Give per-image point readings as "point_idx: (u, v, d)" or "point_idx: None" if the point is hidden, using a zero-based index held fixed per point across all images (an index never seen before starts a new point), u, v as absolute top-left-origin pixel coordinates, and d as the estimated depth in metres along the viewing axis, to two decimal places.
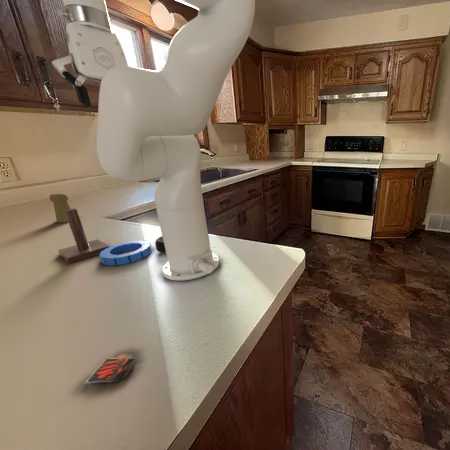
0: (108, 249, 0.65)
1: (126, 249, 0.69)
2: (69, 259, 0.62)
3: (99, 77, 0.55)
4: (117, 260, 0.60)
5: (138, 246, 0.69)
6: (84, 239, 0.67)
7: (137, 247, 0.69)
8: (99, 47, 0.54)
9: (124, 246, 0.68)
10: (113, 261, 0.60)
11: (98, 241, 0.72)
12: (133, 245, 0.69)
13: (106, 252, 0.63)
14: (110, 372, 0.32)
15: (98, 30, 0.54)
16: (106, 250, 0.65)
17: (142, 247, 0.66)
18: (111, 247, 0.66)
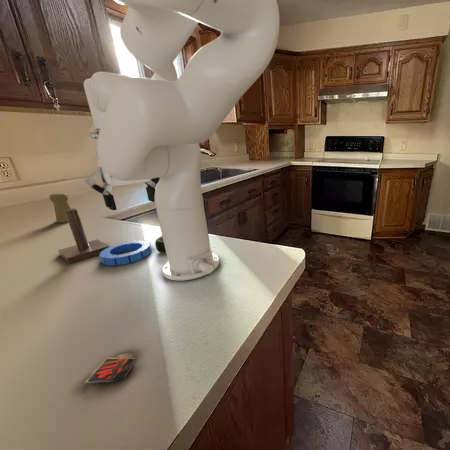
0: (108, 249, 0.65)
1: (126, 249, 0.69)
2: (69, 259, 0.62)
3: (124, 184, 0.61)
4: (117, 260, 0.60)
5: (138, 246, 0.69)
6: (84, 239, 0.67)
7: (137, 247, 0.69)
8: None
9: (124, 246, 0.68)
10: (113, 261, 0.60)
11: (98, 241, 0.72)
12: (133, 245, 0.69)
13: (106, 252, 0.63)
14: (110, 372, 0.32)
15: None
16: (106, 250, 0.65)
17: (142, 247, 0.66)
18: (111, 247, 0.66)
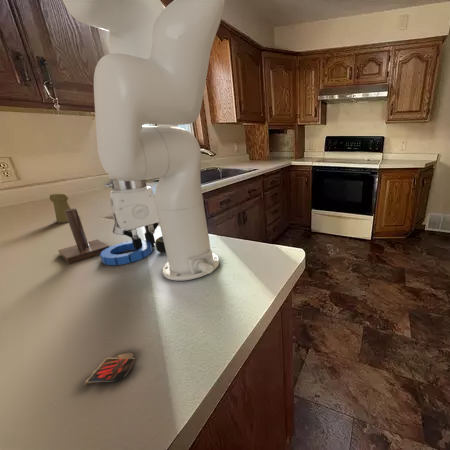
0: (109, 249, 0.65)
1: (127, 249, 0.69)
2: (69, 259, 0.62)
3: (136, 227, 0.64)
4: (118, 260, 0.61)
5: None
6: (84, 239, 0.67)
7: None
8: (137, 204, 0.63)
9: (125, 246, 0.68)
10: (114, 261, 0.60)
11: (98, 241, 0.72)
12: None
13: (107, 252, 0.63)
14: (110, 372, 0.32)
15: (136, 191, 0.63)
16: (107, 250, 0.65)
17: (143, 247, 0.66)
18: (112, 247, 0.66)
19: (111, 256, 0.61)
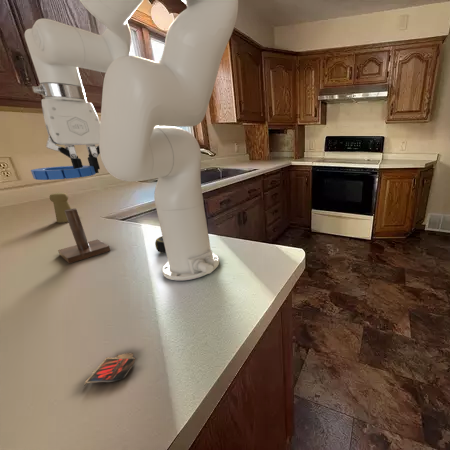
0: (44, 168, 0.60)
1: None
2: (69, 259, 0.62)
3: (73, 144, 0.59)
4: (49, 174, 0.55)
5: None
6: (84, 239, 0.67)
7: None
8: (73, 117, 0.58)
9: (65, 169, 0.63)
10: (44, 174, 0.55)
11: (98, 241, 0.72)
12: None
13: (40, 169, 0.58)
14: (110, 372, 0.32)
15: (72, 102, 0.57)
16: (41, 168, 0.59)
17: (82, 167, 0.61)
18: (49, 167, 0.61)
19: (42, 170, 0.56)
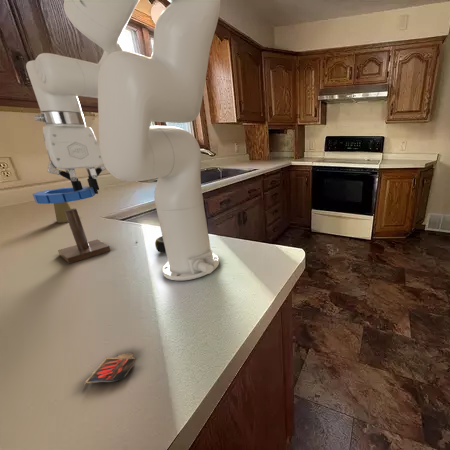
0: (45, 191, 0.62)
1: None
2: (69, 259, 0.62)
3: (73, 167, 0.61)
4: (50, 198, 0.57)
5: None
6: (84, 239, 0.67)
7: None
8: (73, 142, 0.60)
9: (65, 190, 0.65)
10: (46, 199, 0.57)
11: (98, 241, 0.72)
12: None
13: (41, 192, 0.60)
14: (110, 372, 0.32)
15: (72, 128, 0.60)
16: (43, 191, 0.61)
17: (82, 189, 0.63)
18: (49, 190, 0.63)
19: (43, 194, 0.58)
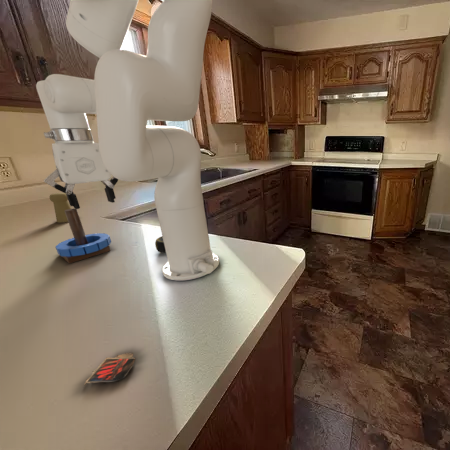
0: (66, 241, 0.67)
1: None
2: (69, 259, 0.62)
3: (81, 182, 0.63)
4: (72, 251, 0.62)
5: (98, 239, 0.71)
6: (84, 239, 0.67)
7: (97, 240, 0.71)
8: (81, 158, 0.62)
9: None
10: (68, 252, 0.62)
11: None
12: (92, 237, 0.71)
13: (63, 244, 0.65)
14: (110, 372, 0.32)
15: (80, 144, 0.61)
16: (64, 242, 0.66)
17: (100, 239, 0.68)
18: (70, 239, 0.68)
19: (66, 248, 0.63)
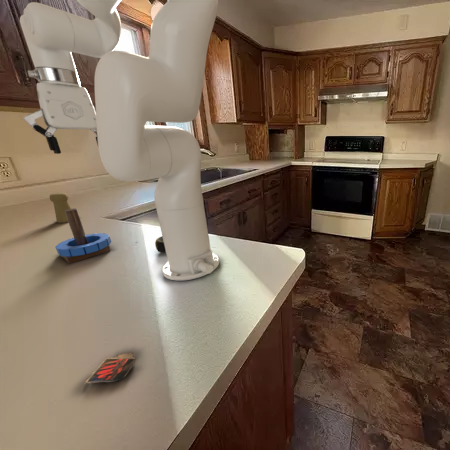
0: (66, 241, 0.67)
1: None
2: (69, 259, 0.62)
3: (68, 127, 0.61)
4: (72, 251, 0.62)
5: (98, 239, 0.71)
6: (84, 239, 0.67)
7: (97, 240, 0.71)
8: (68, 101, 0.60)
9: None
10: (68, 252, 0.62)
11: None
12: (92, 237, 0.71)
13: (63, 244, 0.65)
14: (110, 372, 0.32)
15: (67, 86, 0.59)
16: (64, 242, 0.66)
17: (100, 239, 0.68)
18: (70, 239, 0.68)
19: (66, 248, 0.63)
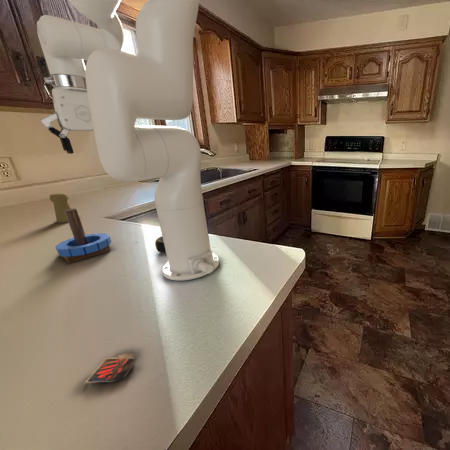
0: (66, 241, 0.67)
1: None
2: (69, 259, 0.62)
3: (80, 129, 0.66)
4: (72, 251, 0.62)
5: (98, 239, 0.71)
6: (84, 239, 0.67)
7: (97, 240, 0.71)
8: (80, 105, 0.65)
9: None
10: (68, 252, 0.62)
11: None
12: (92, 237, 0.71)
13: (63, 244, 0.65)
14: (110, 372, 0.32)
15: (79, 91, 0.64)
16: (64, 242, 0.66)
17: (100, 239, 0.68)
18: (70, 239, 0.68)
19: (66, 248, 0.63)
